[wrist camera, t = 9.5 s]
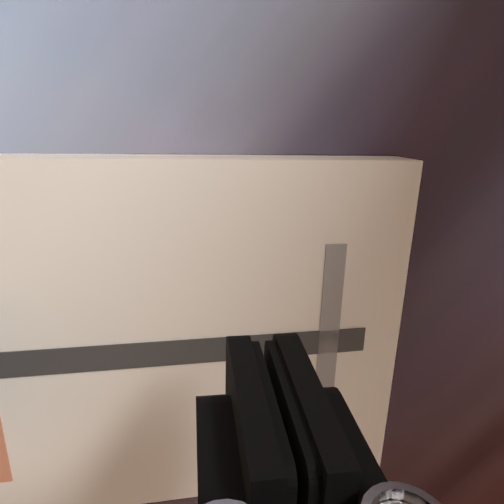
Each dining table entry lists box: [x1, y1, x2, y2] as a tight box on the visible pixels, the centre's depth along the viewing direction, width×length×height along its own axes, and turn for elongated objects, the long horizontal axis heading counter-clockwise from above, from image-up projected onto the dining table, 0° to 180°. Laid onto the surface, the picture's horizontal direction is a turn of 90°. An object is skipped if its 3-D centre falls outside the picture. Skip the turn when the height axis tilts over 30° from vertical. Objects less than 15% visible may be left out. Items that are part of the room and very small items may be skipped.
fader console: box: [0, 153, 423, 504], centre depth 16 cm, size 20×14×2 cm
